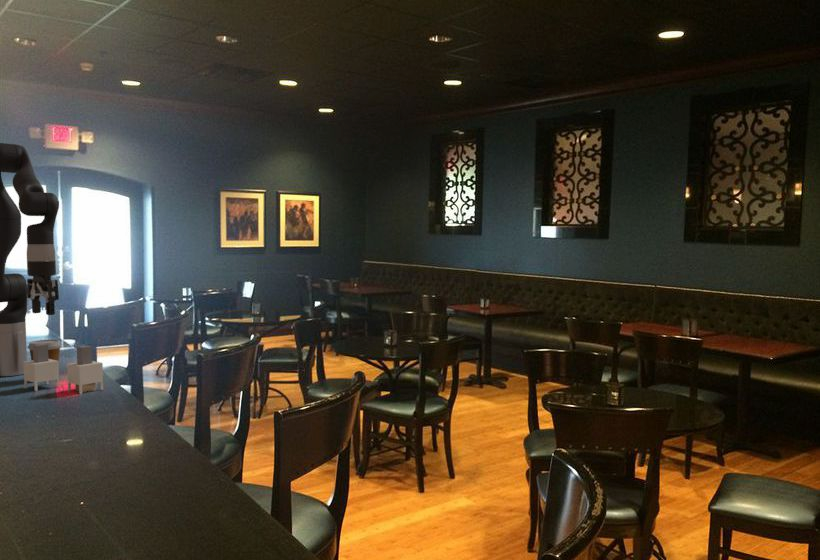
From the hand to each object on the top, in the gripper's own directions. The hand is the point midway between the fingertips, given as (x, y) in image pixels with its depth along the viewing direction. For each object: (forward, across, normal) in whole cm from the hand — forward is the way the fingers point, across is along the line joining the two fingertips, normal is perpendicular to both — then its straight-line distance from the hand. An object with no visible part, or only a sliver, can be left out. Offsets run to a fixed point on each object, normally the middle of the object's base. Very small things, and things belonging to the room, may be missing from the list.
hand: (43, 314), depth 205 cm
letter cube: (+23, +12, +6) cm, 26 cm away
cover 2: (+22, +12, +6) cm, 26 cm away
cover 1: (+22, -2, 0) cm, 22 cm away
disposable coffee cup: (+22, -14, +6) cm, 27 cm away
